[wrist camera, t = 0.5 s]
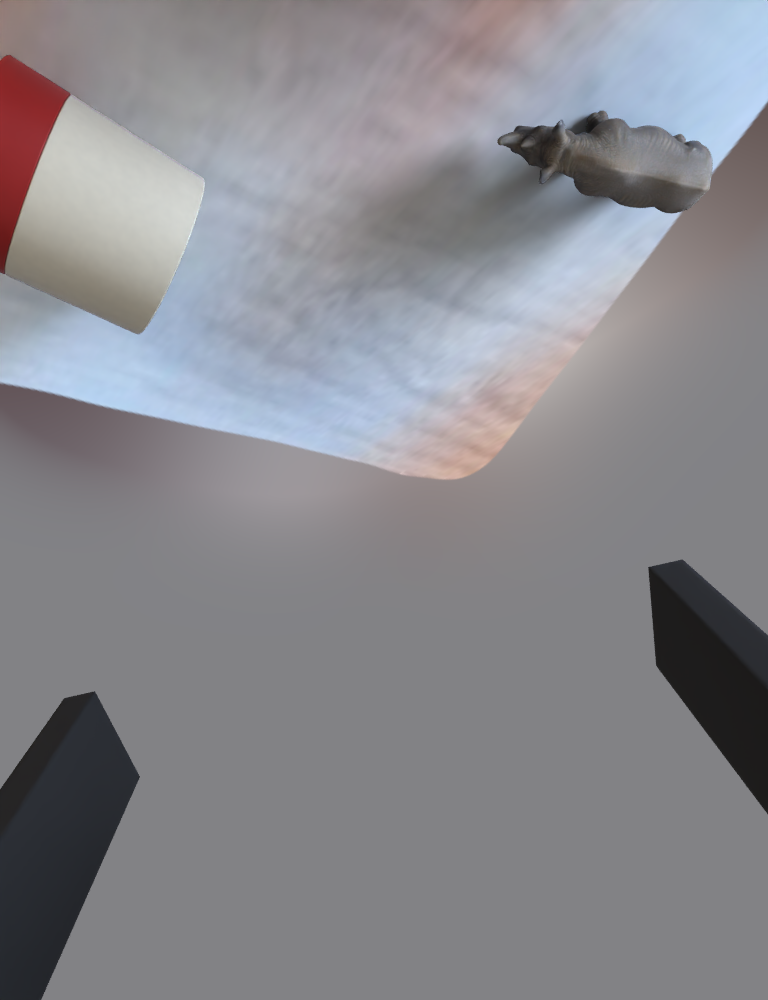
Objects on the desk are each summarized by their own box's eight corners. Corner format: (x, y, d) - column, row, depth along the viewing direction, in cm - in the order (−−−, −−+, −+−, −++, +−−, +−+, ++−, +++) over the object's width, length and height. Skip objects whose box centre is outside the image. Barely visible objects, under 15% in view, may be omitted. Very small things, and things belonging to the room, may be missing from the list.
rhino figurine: (494, 78, 32) (533, 106, 28) (694, 126, 36) (753, 157, 32) (471, 159, 35) (504, 195, 31) (658, 195, 39) (709, 232, 35)
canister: (-19, 204, 32) (-75, 279, 26) (27, 36, 28) (-28, 81, 22) (144, 286, 37) (129, 365, 31) (207, 155, 32) (203, 219, 26)
